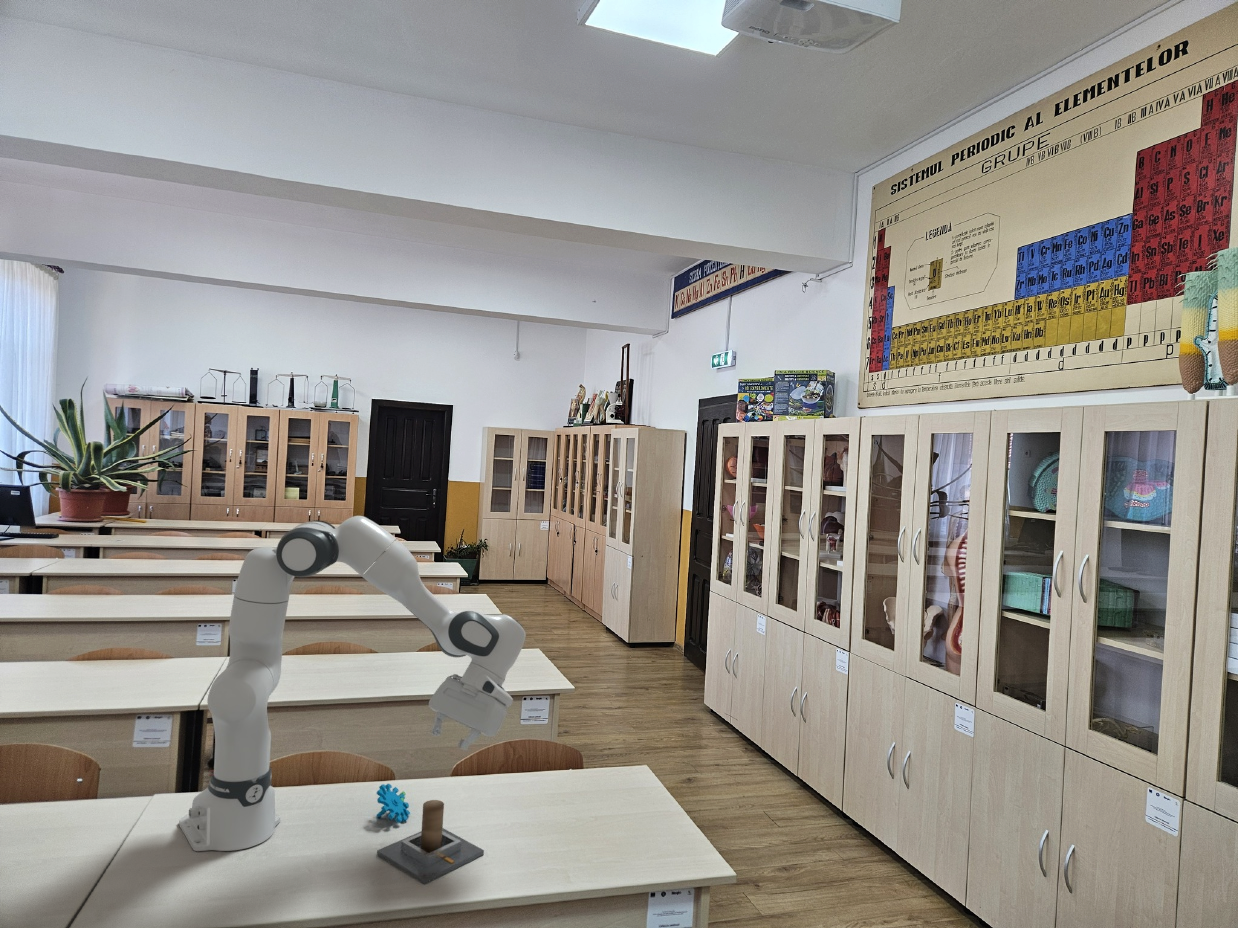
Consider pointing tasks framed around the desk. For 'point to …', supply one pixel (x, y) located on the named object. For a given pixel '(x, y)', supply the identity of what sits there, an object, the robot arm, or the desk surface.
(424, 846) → the pin
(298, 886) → the desk surface
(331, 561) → the robot arm
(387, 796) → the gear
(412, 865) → the square frame on plate
